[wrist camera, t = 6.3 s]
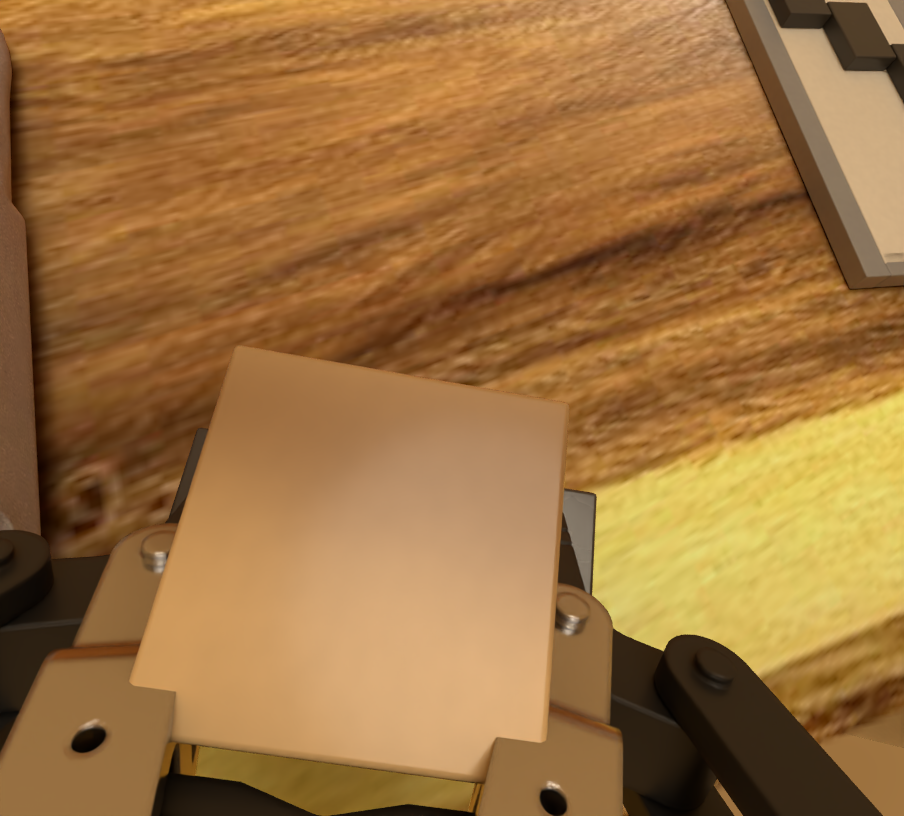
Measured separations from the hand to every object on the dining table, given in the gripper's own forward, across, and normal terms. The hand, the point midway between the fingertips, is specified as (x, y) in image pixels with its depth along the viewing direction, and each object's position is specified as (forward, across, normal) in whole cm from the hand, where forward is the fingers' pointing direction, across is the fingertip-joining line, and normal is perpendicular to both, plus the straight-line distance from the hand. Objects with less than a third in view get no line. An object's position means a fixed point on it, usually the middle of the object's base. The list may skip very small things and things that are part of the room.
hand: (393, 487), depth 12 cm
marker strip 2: (+25, -19, -16) cm, 35 cm away
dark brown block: (+26, -16, -17) cm, 35 cm away
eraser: (+2, 0, +4) cm, 5 cm away
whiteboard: (+23, -20, -12) cm, 33 cm away
